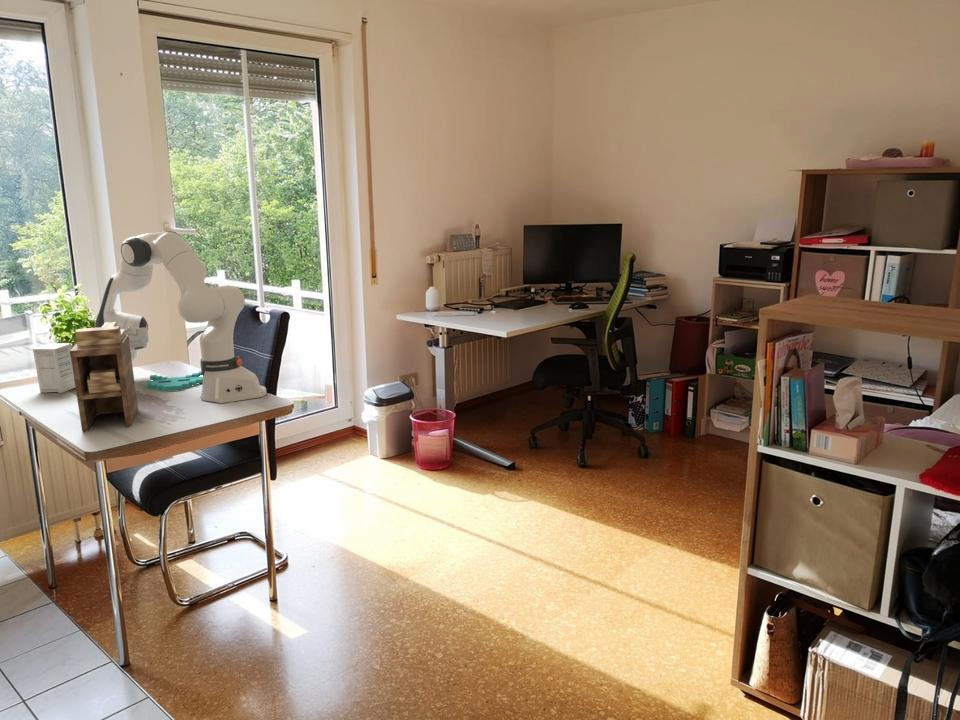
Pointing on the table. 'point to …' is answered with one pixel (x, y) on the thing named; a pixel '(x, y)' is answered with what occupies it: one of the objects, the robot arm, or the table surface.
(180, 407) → the table surface
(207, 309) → the robot arm
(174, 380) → the alien figure
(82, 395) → the walnut shelf
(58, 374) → the supplement box
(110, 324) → the plywood board
